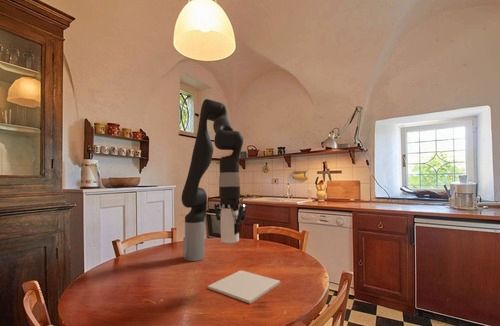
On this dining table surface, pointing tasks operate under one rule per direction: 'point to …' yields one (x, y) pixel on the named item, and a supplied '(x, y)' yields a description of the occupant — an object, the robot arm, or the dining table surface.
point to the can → (228, 226)
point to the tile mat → (244, 286)
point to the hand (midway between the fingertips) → (230, 233)
